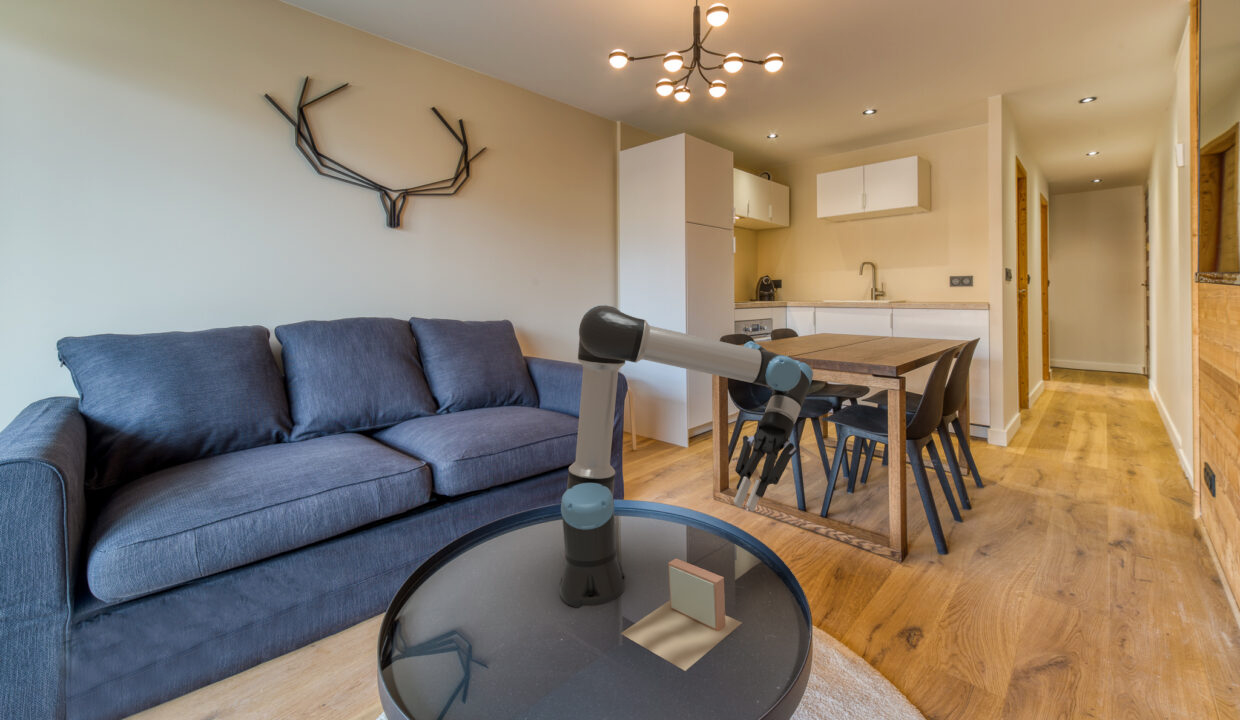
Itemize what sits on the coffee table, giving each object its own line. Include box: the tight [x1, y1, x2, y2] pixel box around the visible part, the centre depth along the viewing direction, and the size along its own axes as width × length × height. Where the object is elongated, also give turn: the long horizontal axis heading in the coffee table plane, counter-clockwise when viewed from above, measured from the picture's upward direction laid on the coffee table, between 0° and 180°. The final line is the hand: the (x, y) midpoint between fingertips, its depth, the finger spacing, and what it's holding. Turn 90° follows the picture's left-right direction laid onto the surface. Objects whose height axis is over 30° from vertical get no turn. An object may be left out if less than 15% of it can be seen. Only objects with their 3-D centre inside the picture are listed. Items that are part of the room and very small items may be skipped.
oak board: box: [620, 599, 743, 672], centre depth 105 cm, size 16×18×1 cm
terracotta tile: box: [667, 558, 726, 631], centre depth 108 cm, size 12×3×10 cm, turn 45°
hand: (743, 506), depth 119 cm, fingers open, 3 cm apart
